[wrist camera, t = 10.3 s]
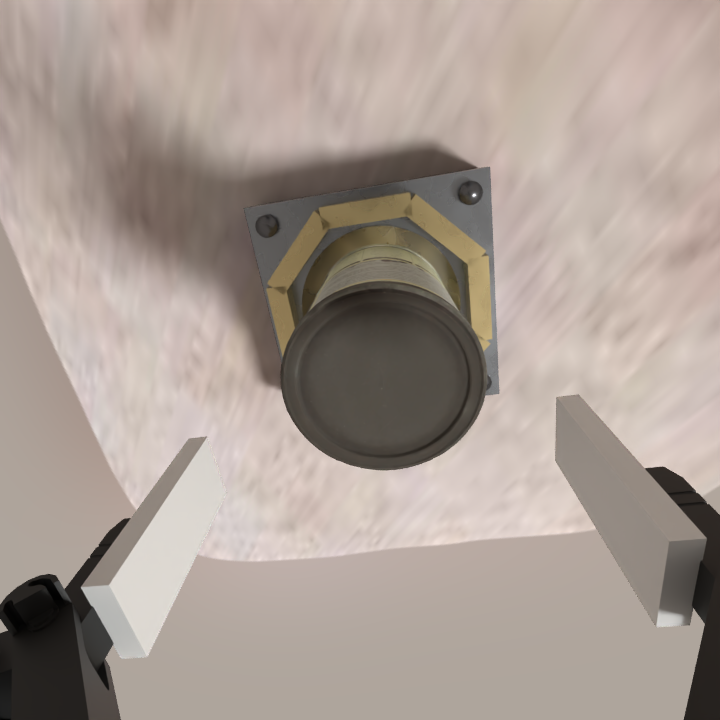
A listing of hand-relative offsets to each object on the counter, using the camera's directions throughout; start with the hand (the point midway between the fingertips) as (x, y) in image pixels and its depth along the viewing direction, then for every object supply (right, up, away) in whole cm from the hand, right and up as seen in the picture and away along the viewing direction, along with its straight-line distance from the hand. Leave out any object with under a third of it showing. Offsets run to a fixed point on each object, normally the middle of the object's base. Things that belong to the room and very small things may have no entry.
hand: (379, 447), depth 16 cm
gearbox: (+1, +9, +22) cm, 24 cm away
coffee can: (+1, +8, +18) cm, 20 cm away
